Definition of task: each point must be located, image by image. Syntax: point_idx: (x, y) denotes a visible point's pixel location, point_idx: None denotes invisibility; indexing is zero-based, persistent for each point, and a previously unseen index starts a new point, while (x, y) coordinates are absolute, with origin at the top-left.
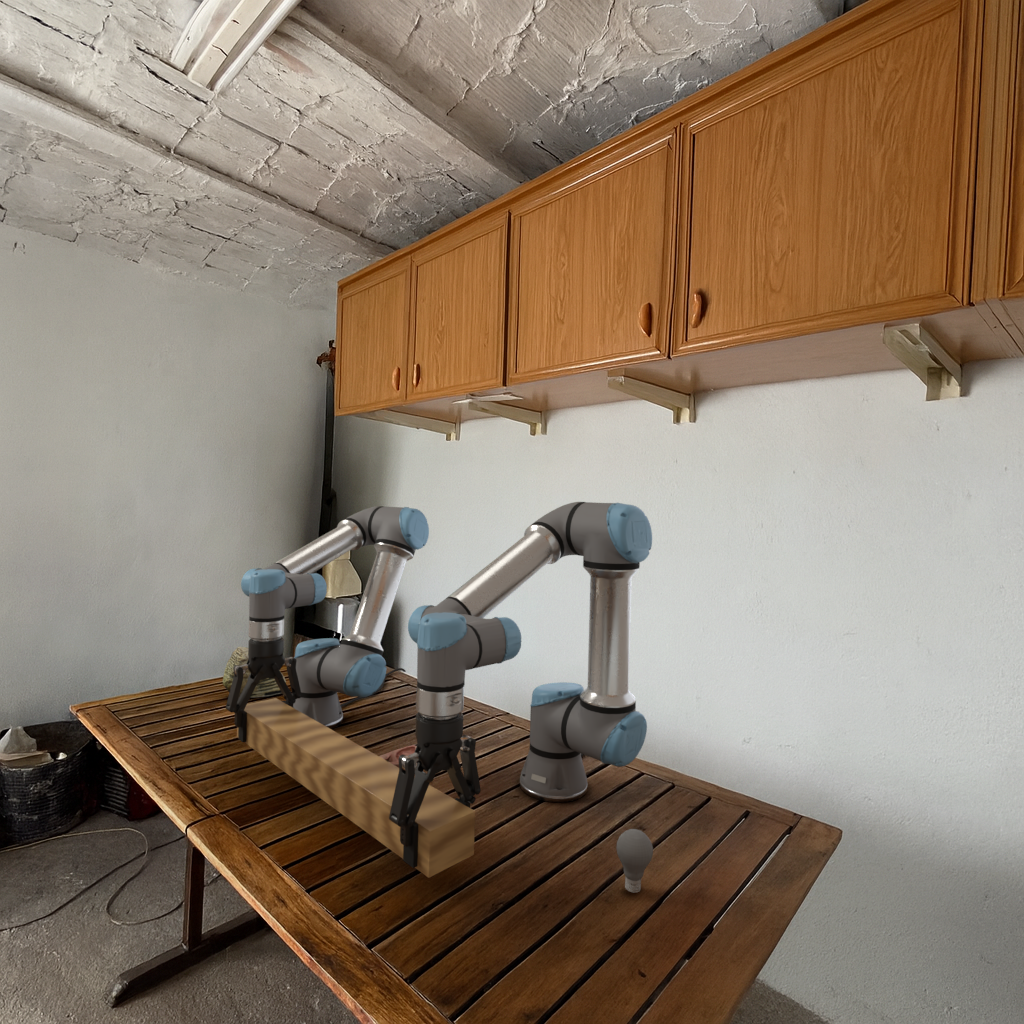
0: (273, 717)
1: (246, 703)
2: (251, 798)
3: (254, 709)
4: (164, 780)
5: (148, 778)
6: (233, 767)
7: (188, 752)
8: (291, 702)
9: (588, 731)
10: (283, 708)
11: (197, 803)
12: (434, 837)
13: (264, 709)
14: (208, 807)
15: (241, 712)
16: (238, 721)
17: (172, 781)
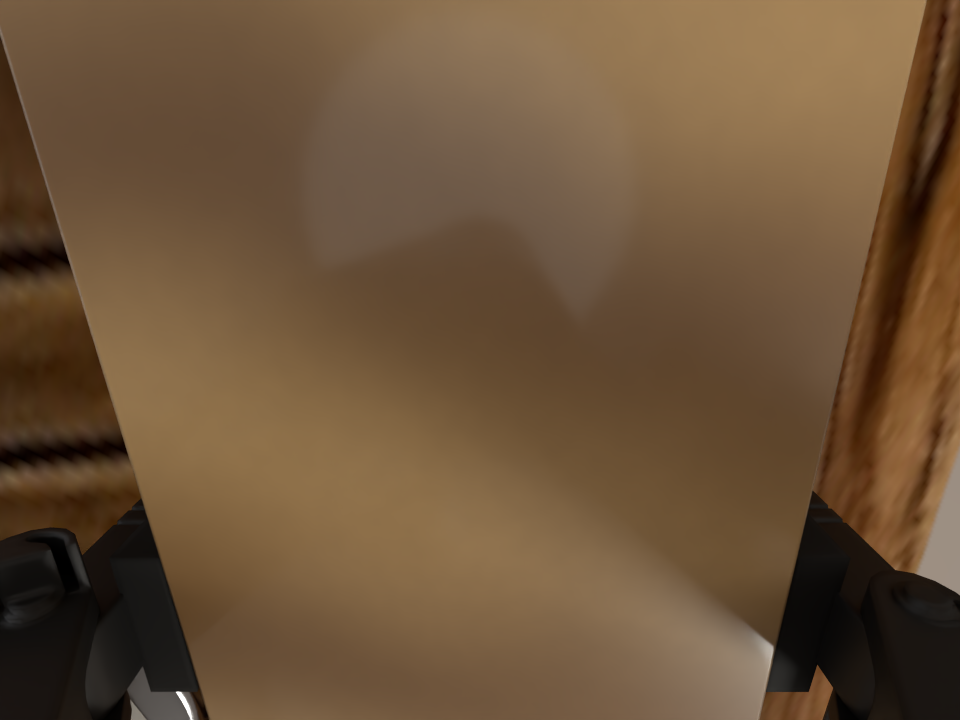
0: (614, 32)
1: (919, 707)
2: None
3: (650, 610)
4: (875, 495)
5: (906, 548)
6: None
7: None
8: (67, 543)
9: None
10: (262, 411)
11: (928, 149)
12: None
13: (539, 535)
14: (922, 55)
15: (893, 579)
16: (818, 517)
17: (858, 466)
